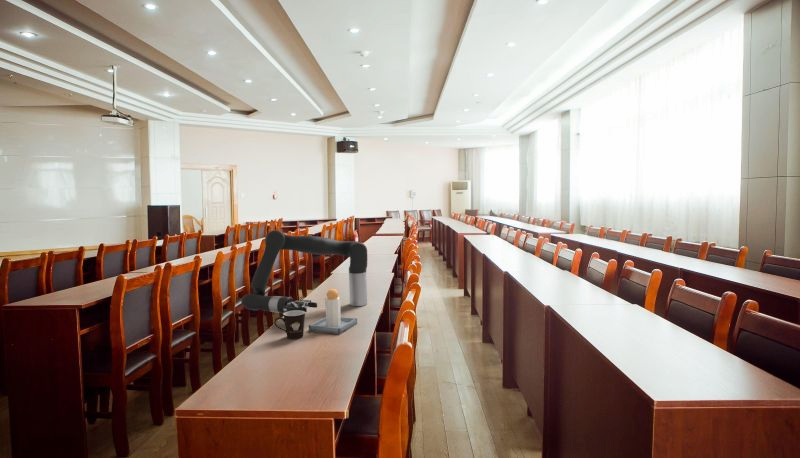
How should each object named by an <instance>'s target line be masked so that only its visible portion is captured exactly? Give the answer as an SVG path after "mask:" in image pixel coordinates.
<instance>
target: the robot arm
mask: <svg viewBox="0 0 800 458" xmlns="http://www.w3.org/2000/svg"><path fill="white" fill-rule="evenodd" d="M264 244H265V245H264V251H263V254H262V256H261V259H260V261H259V263H258V266H257V268H256V269H255V272H254V275H253V278H252V279H251V283H250V288H251V289H253V293H247V294H245V295H244V296H242V298H241V301H240V303H241V305H242V307H243V308H245V309H247V310H250V311H253V312H255V311H256V312H257V311H260V310H261V311H264V312H272V313H277V314H284V313H285V312H288V311H294V310H301V311H305V313H307V312H308V311H307V310H308V308H313V309H314V308H315V309H317V308H318V302H312V300H311V299H310V300H309V299H299V300H294V299H293V297H290V296H277V295H275V296H272V295H266V288H267V286H268V282H269V280H270V277H271V273H272V271H273V267H274V264H275V261H276V259H277V257H278V255H279V253H280V251H281V250H282V251H286V250H287V251H295V252H300V253H303V254H304V253H305V254H310V255H318V256H319V255H320V256H332V255H334V256H335V255H337V256H343V257H349V266H348V285H349V286H348V288H349V289H348V291H349V292H348V293H349V305H350V306H351V307H363V306H366V305H368V283H367V282H368V279H367V267H368V248H367V246H366V245H365V244H364V243H363V242H360V241H357V240H356V241H351V240H350V241H346V240H338V239H337V240H336V239H334V238H333V239H332V238H328V237H323V236H315V235H289V234H286V233H284V232H282V230H279V229H273V230H271V231H268V233H267V234H266V235H265V236H264Z"/></svg>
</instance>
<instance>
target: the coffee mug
mask: <svg viewBox="0 0 800 458" xmlns="http://www.w3.org/2000/svg"><path fill="white" fill-rule="evenodd" d="M305 318H306V312H305V311H301V310H294V311H288V312H285V313H283V317H277V318H275V319H274V325H275V327H276V328H278V330H281V331H283V332H285V333H286V338H287V339H288V340H300V339H302V338H303V337H304V329H305ZM278 320H282V321H283V323H284V324H285V325H284V326H285V329H284V328H282V327H280V326H279V325H277V321H278Z"/></svg>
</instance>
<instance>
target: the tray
mask: <svg viewBox="0 0 800 458" xmlns="http://www.w3.org/2000/svg"><path fill="white" fill-rule="evenodd" d="M357 325H358V318H357V317H345V316H341V325H340V326H338V327H327V326H326V316H324V317H323V318H321V319H318V320H317V321H315V322H313V323H310V324H309V325H308V332H314V333H315V332H316V333H323V334H324V333H325V334H333V335H342V334H343V333H344V332H345V333H346V331H348V330H349V329H351V328H354V326H357Z"/></svg>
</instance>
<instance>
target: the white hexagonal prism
mask: <svg viewBox="0 0 800 458" xmlns="http://www.w3.org/2000/svg"><path fill="white" fill-rule="evenodd" d="M324 300H325V303H324V304H325V317H326V326H327V327H338V326H340V325H341V317H342V315H341V297H340V296H338V298H337V299H328V298H327V297H325V299H324Z"/></svg>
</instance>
